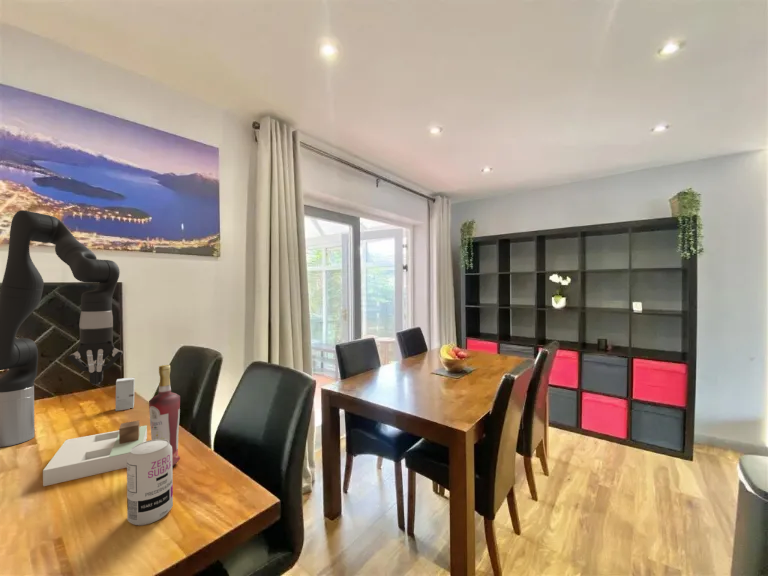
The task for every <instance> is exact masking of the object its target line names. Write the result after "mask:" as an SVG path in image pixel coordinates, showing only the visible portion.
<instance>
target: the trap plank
mask: <svg viewBox="0 0 768 576" xmlns="http://www.w3.org/2000/svg"><path fill="white" fill-rule="evenodd" d="M139 434H140V435H139V440H137V441H132V442H127V443H122V444H119V430H113V431H108V432H101V433H97V434H92V435H91V434H90V435H86V436H85V435H84V436H79V437H73V438H69V439H65V441H64V442H63V444H61V446H60V447H59V449H58V450H57V451H56V453H55V454H53V455H54V456H52V458H51V459H50V461H49V462H48V464H46V466H45V467H44V469H43V470H42V486H43V487H47V486H50V485H51V486H52V485H56V484H60V483H64V482H68V481H73V480H77V479H82V478H85V477H90V476H94V475H95V476H96V475H101V474H104V473H108V472H111V471H112V472H113V471H116V470H121V469H127V457H128V455H129V453H130V451H131V449H132V448H133V447H134V446H136V445H138V444H140V443H143V442H146V441H147V439H148V425H139Z"/></svg>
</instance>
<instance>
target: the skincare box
mask: <svg viewBox="0 0 768 576" xmlns="http://www.w3.org/2000/svg"><path fill="white" fill-rule="evenodd" d="M134 406H135V377H123V378H117V379H116V381H115V409H114V410H115V412H117V411H124V410H131V409H130V408H132V409H134Z"/></svg>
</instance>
